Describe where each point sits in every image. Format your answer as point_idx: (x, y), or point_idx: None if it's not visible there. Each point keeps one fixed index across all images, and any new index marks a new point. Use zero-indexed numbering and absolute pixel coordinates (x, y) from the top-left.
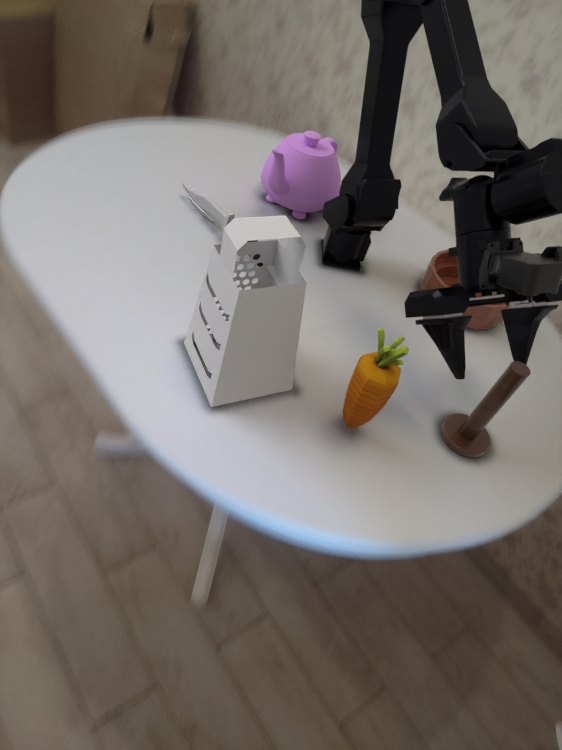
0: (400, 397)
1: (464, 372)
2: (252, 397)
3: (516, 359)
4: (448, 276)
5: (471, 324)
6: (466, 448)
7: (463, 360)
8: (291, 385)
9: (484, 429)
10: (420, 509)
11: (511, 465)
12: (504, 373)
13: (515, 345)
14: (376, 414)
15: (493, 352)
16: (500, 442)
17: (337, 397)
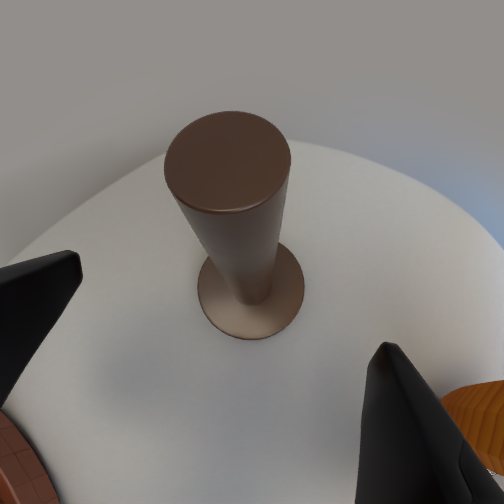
0: (300, 430)
1: (393, 357)
2: (494, 475)
3: (63, 293)
4: (1, 500)
5: (21, 441)
6: (287, 259)
7: (418, 397)
8: None
9: (205, 271)
10: (430, 230)
11: None
12: (269, 227)
13: (27, 328)
14: (477, 384)
15: (24, 379)
16: (187, 240)
17: None
